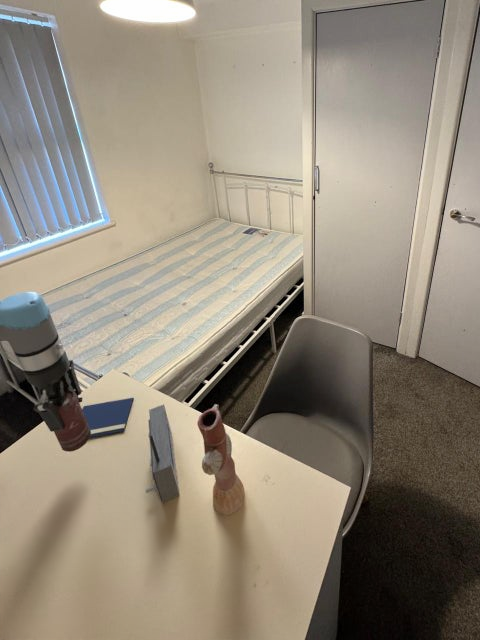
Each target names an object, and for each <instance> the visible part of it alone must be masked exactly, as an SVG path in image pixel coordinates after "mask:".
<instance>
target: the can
mask: <svg viewBox="0 0 480 640" xmlns="http://www.w3.org/2000/svg"><path fill="white" fill-rule="evenodd" d="M64 394H65V396H64V397H63V399H64V402H63V404H62V406H59V405H56V406H58V407H55V408H56V409H57V411H58V413H59V415H60V416H61V418H62V420H63V422H64V424H65V428H64V429H63V430H58V431H53V433H54V435H55V437H56V439H57V442H58V444H59V446H60V448H61V450H62V451H64V452H70V453H71V452H75V451H77V450H79V449H81V448H83V447H84V446H85V445H86V444H87V443H88V441H89V440H90V439H91V438H90V435H91V430H90V428H89V426H88V423H87V421H86V418H85V416H84V413H83V411H82V409H83V407H82V406H81V404H80V403H81V402H80V403H79V401H78V398H77V396H76V394H75V393H73V392H72V391H70V390H66V391H64ZM89 438H90V439H89Z"/></svg>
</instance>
